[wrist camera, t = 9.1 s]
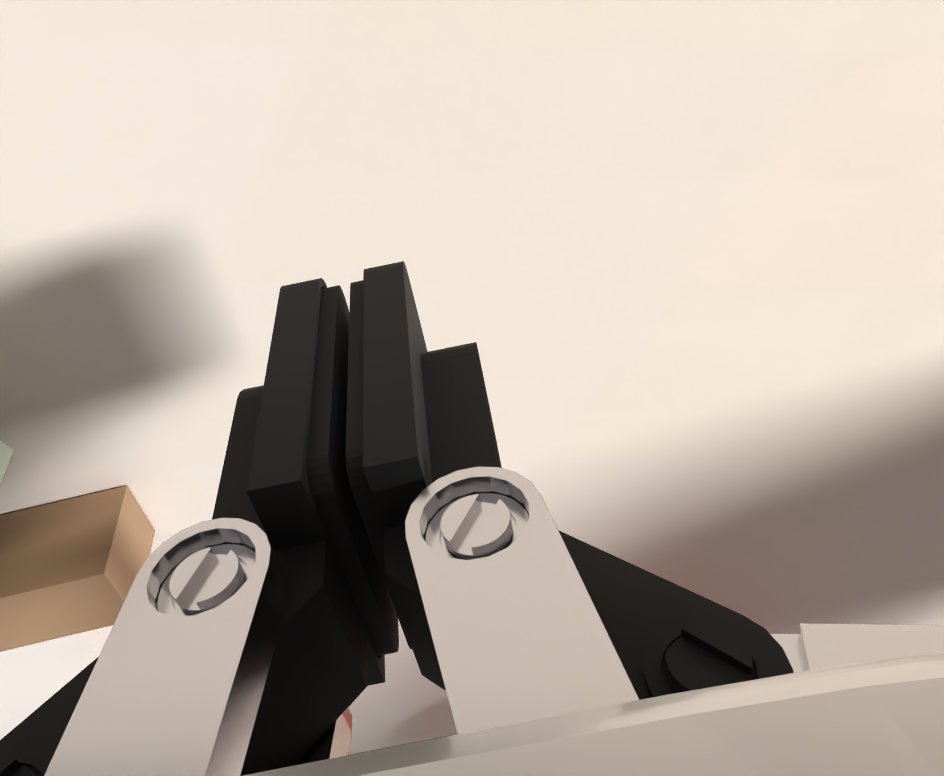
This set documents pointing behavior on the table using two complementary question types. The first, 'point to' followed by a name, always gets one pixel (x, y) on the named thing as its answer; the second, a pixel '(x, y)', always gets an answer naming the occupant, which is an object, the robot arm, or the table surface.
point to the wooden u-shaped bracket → (69, 565)
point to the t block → (4, 458)
